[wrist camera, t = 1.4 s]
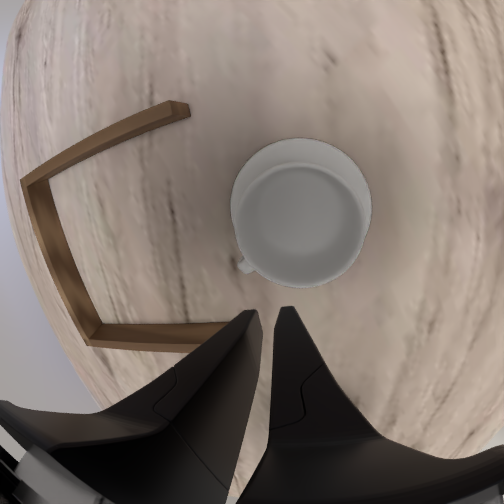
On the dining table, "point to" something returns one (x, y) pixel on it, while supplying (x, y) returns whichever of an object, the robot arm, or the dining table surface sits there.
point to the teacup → (300, 212)
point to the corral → (62, 262)
